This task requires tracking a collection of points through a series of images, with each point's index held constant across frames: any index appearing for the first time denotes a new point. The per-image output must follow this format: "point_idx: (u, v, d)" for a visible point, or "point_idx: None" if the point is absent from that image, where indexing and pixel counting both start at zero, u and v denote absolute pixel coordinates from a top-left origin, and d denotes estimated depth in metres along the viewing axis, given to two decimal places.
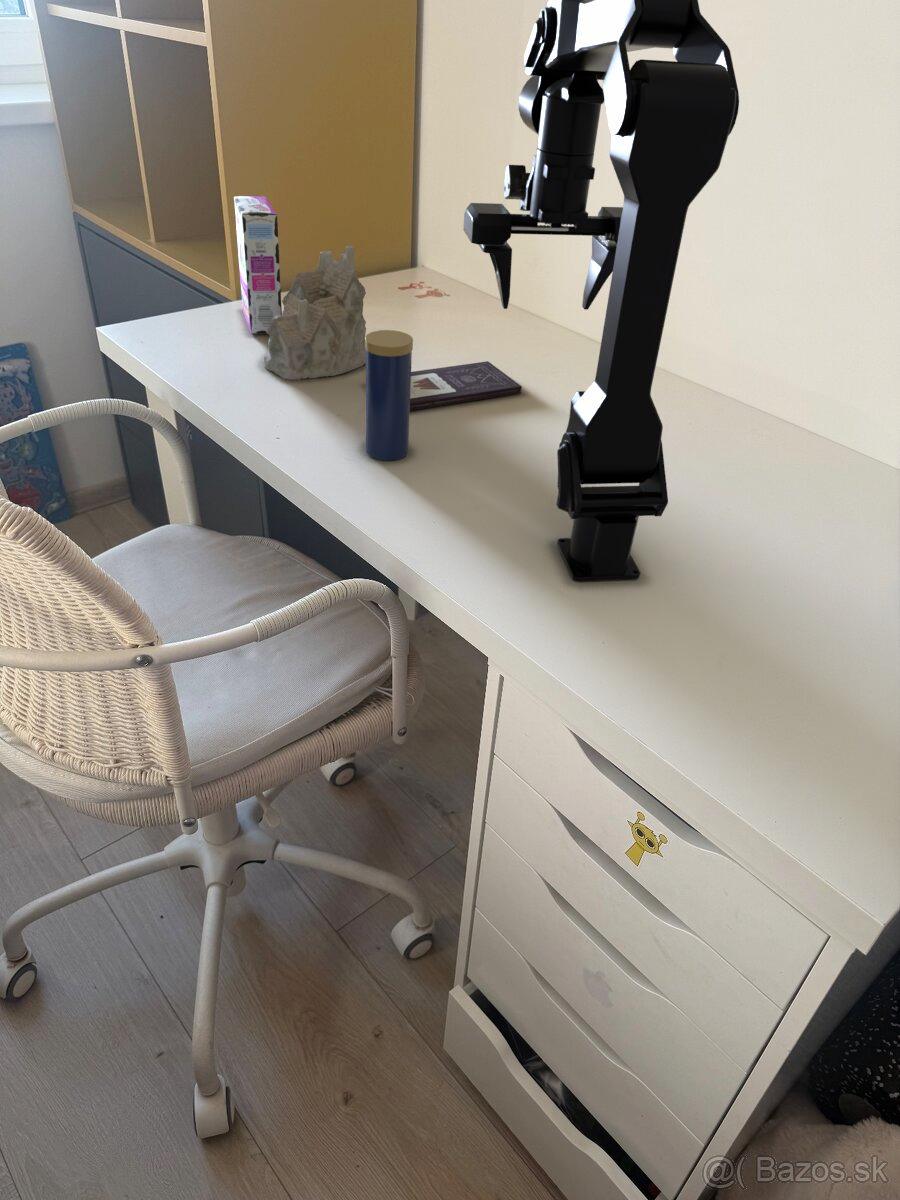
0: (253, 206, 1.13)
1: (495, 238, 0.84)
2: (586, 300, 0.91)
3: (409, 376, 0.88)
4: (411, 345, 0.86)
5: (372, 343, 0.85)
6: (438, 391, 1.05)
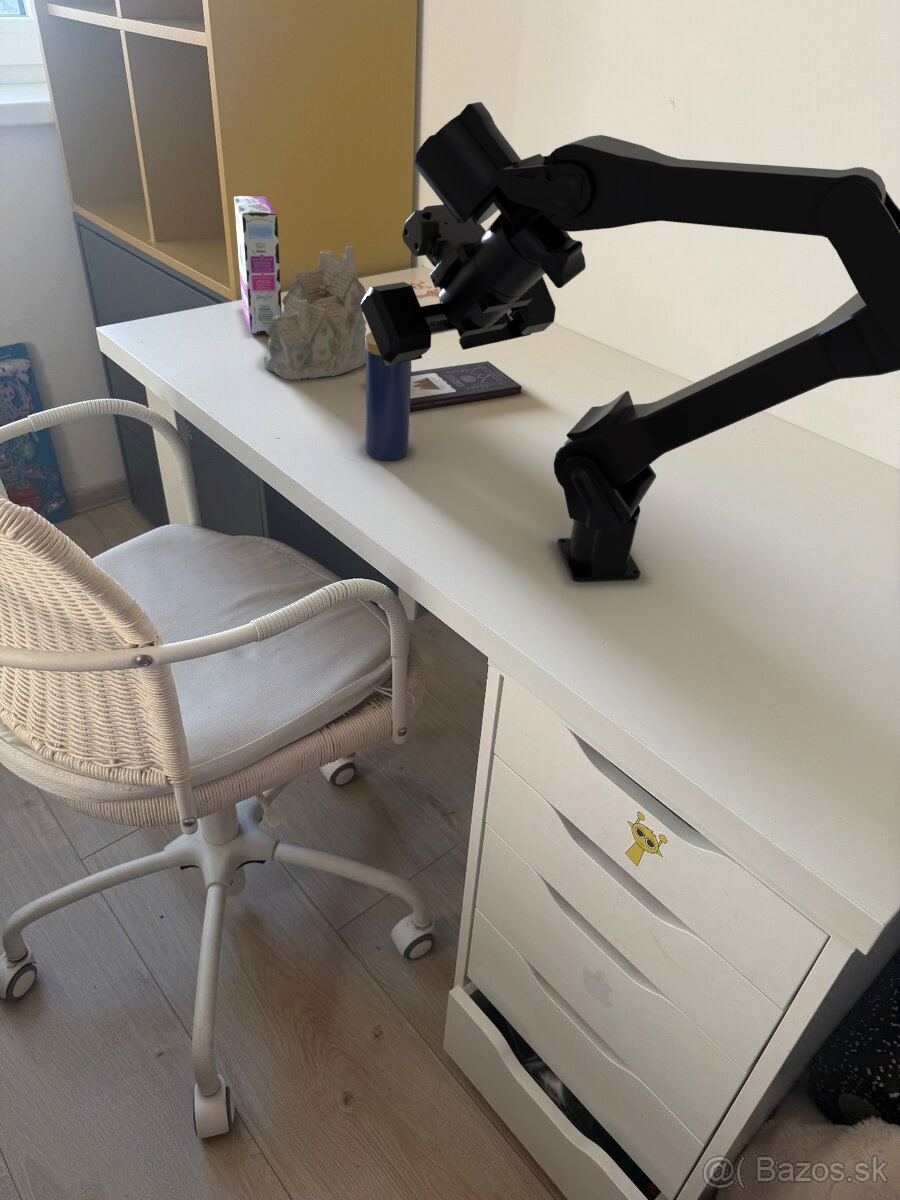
0: (253, 206, 1.13)
1: (410, 356, 0.72)
2: (467, 346, 0.83)
3: (409, 376, 0.88)
4: None
5: (372, 343, 0.85)
6: (438, 391, 1.05)
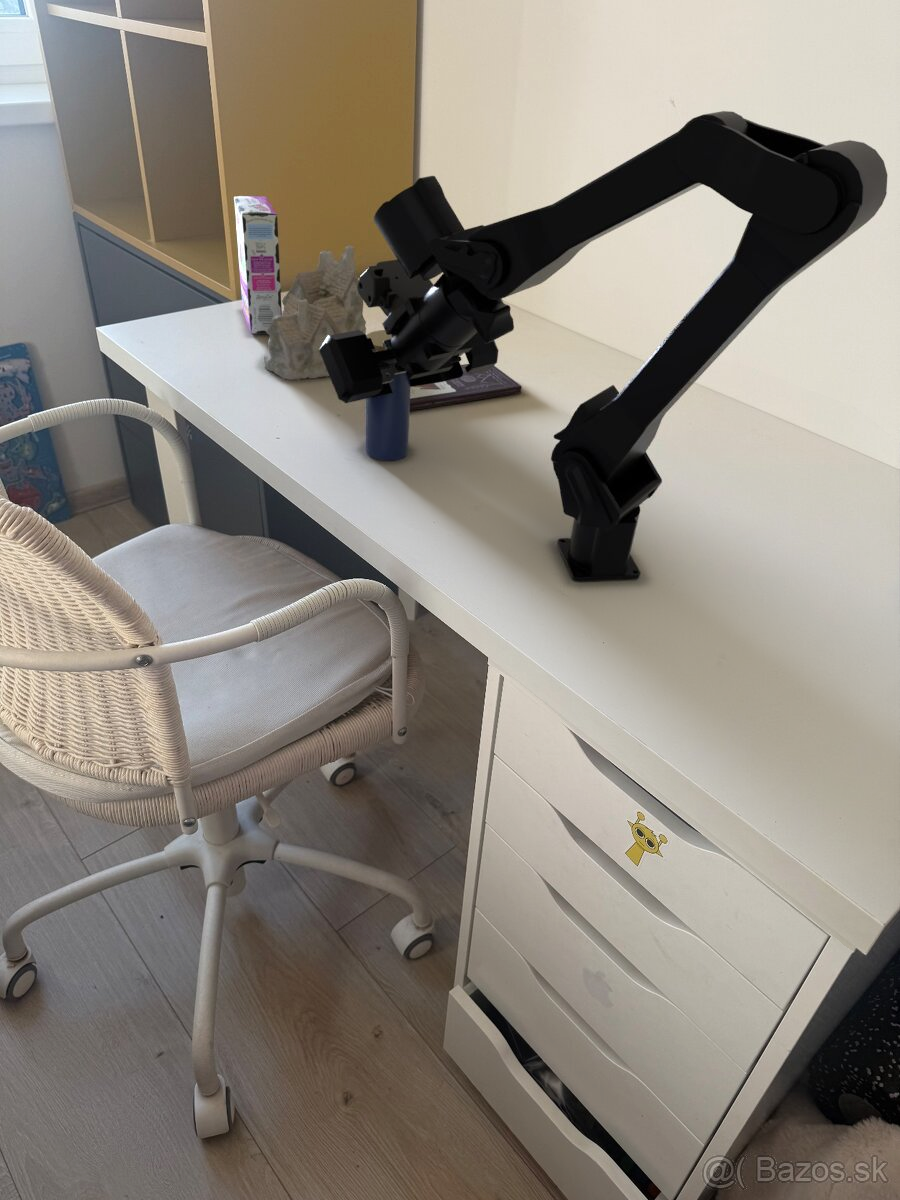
0: (253, 206, 1.13)
1: (364, 397, 0.80)
2: None
3: None
4: None
5: None
6: (438, 391, 1.05)
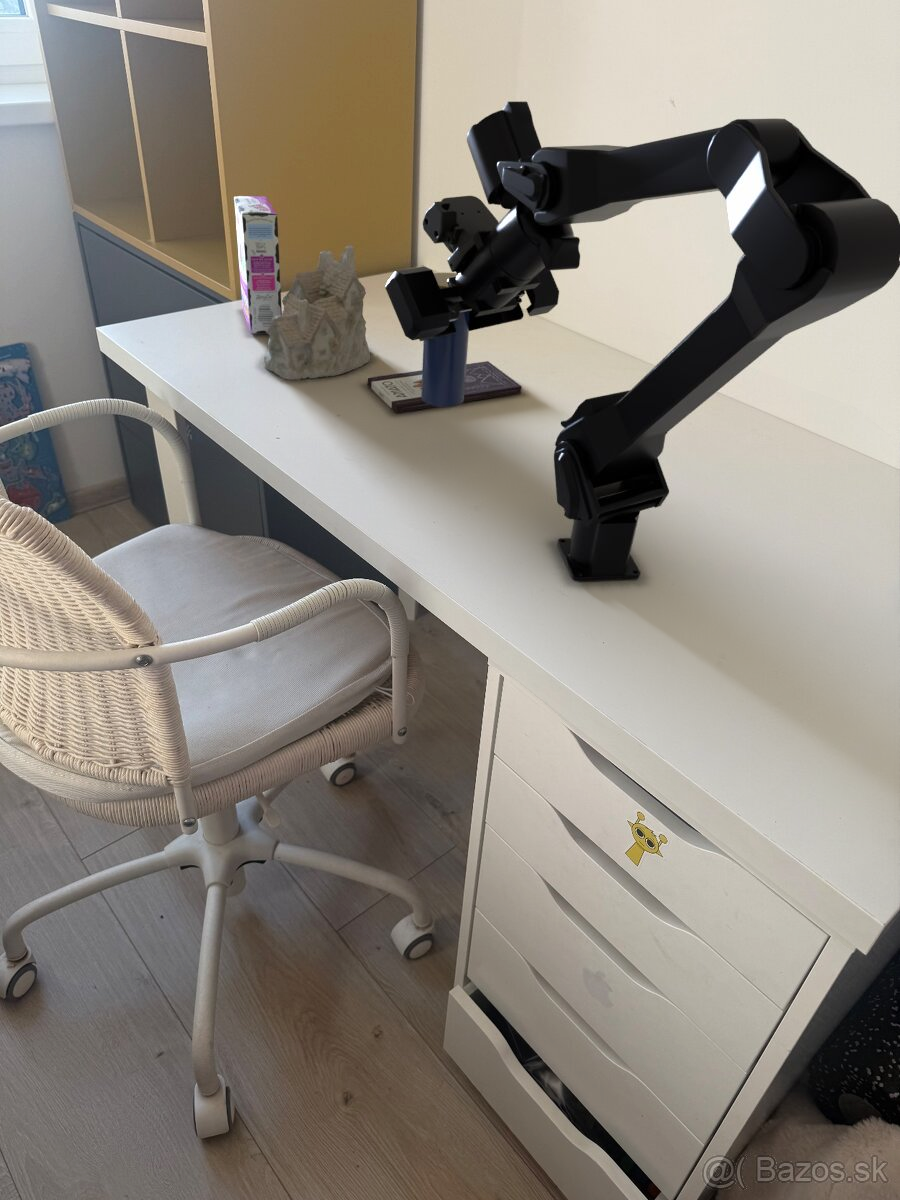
0: (253, 206, 1.13)
1: (430, 334, 0.79)
2: None
3: (468, 319, 0.87)
4: None
5: None
6: None
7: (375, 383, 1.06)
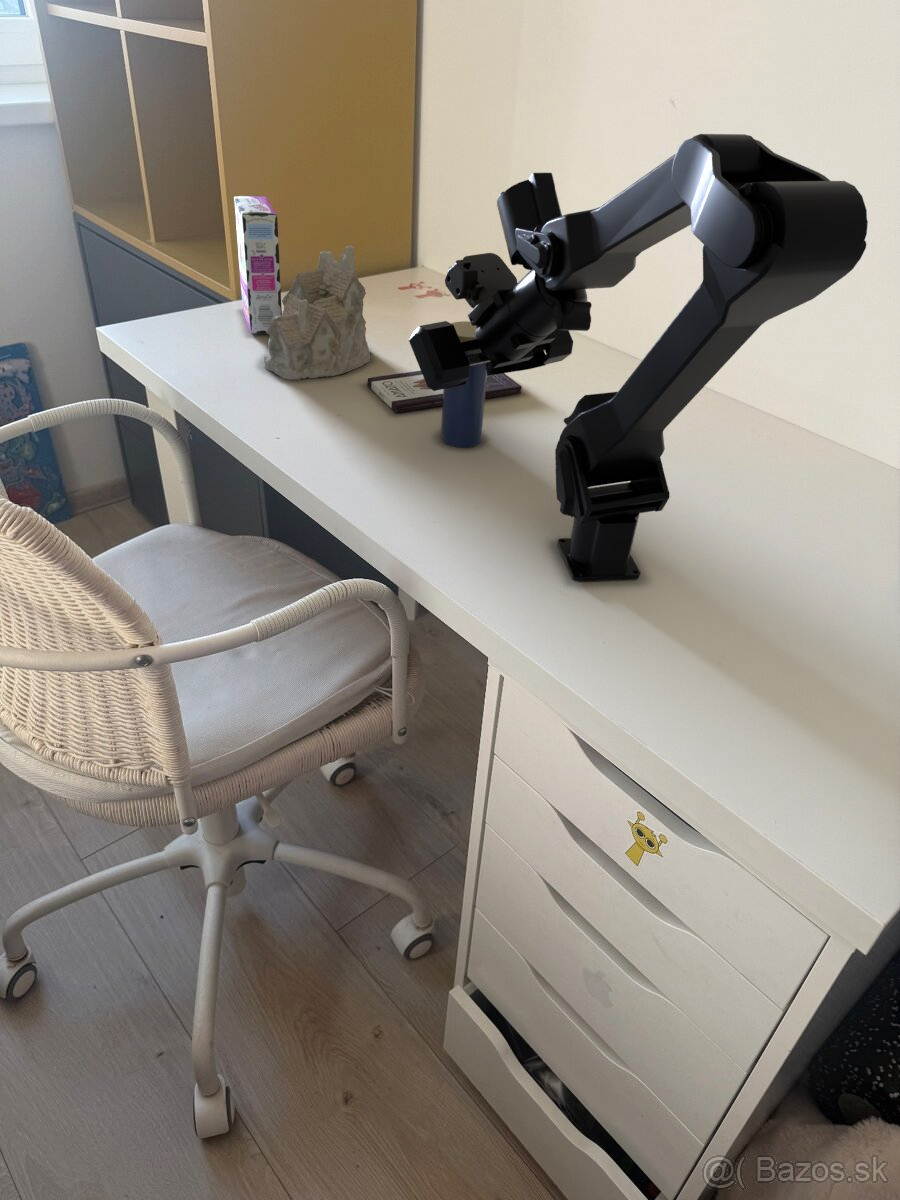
0: (253, 206, 1.13)
1: (450, 385, 0.84)
2: (489, 373, 0.95)
3: (487, 365, 0.92)
4: None
5: None
6: (438, 391, 1.05)
7: (375, 383, 1.06)
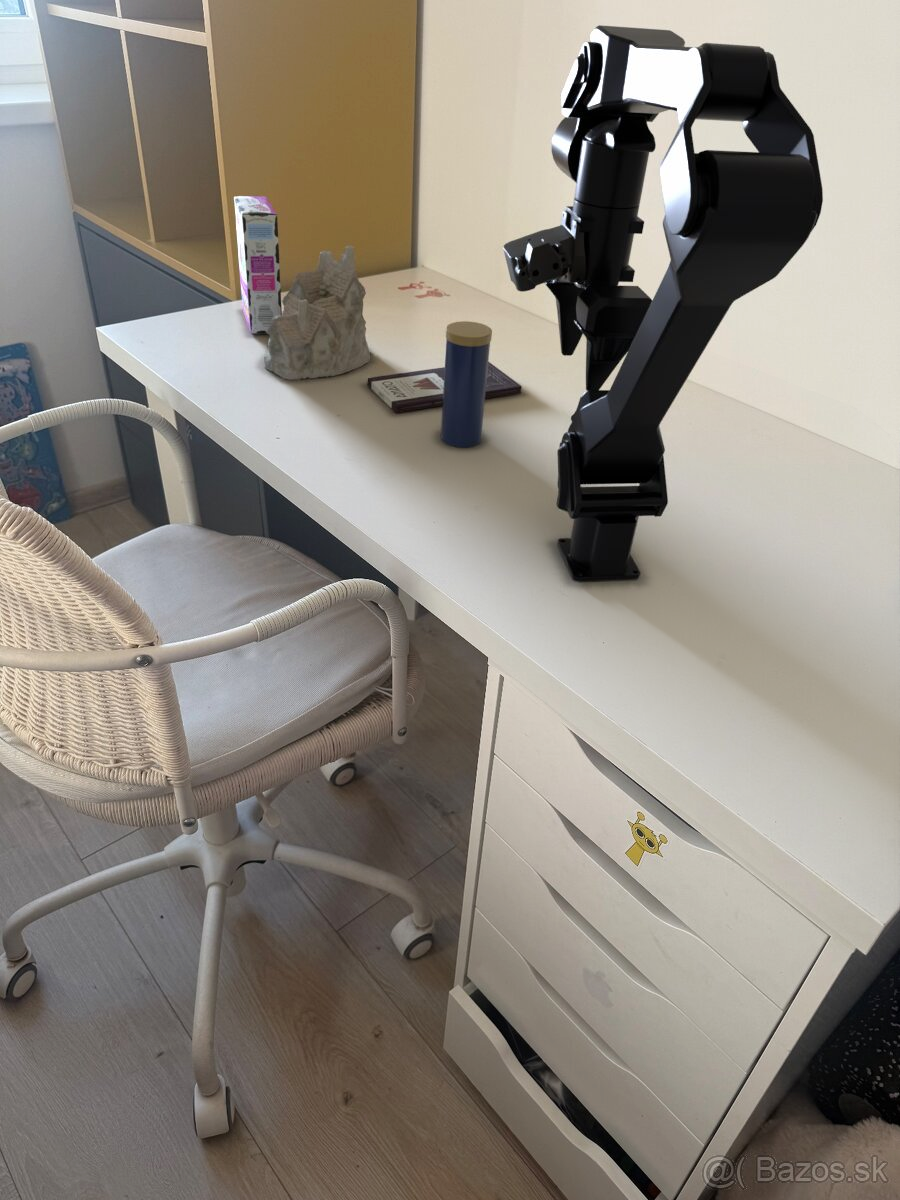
0: (253, 206, 1.13)
1: None
2: (574, 345, 0.85)
3: (487, 365, 0.92)
4: (491, 336, 0.90)
5: (454, 334, 0.88)
6: (438, 391, 1.05)
7: (375, 383, 1.06)
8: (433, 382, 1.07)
